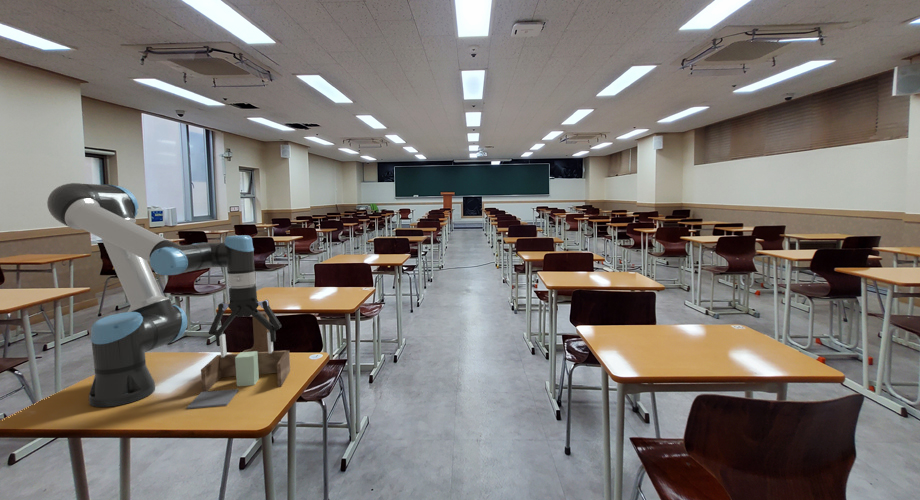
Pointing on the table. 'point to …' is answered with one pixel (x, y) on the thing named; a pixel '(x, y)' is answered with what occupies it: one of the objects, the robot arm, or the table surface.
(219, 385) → the table surface
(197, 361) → the table surface
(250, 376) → the block
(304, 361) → the table surface
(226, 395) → the mat
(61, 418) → the table surface
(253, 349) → the wooden block
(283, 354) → the cubby
